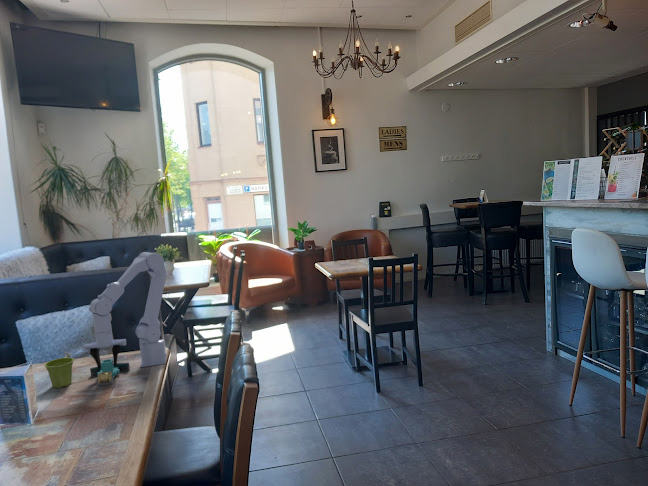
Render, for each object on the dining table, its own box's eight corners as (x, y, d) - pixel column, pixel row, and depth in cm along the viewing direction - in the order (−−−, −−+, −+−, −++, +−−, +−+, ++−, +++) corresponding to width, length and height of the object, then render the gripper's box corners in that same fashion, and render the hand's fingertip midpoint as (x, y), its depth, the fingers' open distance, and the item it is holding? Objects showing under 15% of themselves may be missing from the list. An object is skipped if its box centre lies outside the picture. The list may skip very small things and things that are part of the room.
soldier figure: (48, 374, 192) (53, 356, 203) (60, 380, 195) (64, 362, 205) (61, 360, 192) (65, 343, 202) (72, 366, 194) (76, 348, 205)
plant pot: (82, 379, 181) (79, 356, 180) (66, 389, 172) (63, 366, 171) (58, 380, 182) (55, 357, 181) (41, 390, 173) (38, 367, 172)
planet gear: (120, 368, 187) (119, 356, 187) (118, 375, 180) (116, 362, 179) (99, 372, 185) (97, 359, 185) (95, 379, 178) (94, 365, 177)
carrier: (130, 368, 190) (128, 356, 189) (125, 382, 176) (123, 368, 175) (91, 374, 186) (90, 361, 186) (83, 388, 172) (81, 374, 172)
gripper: (125, 325, 186) (129, 359, 188) (84, 330, 183) (88, 366, 184) (123, 330, 180) (127, 365, 181) (80, 336, 176) (84, 372, 177)
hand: (107, 366), depth 182 cm, fingers open, 5 cm apart
